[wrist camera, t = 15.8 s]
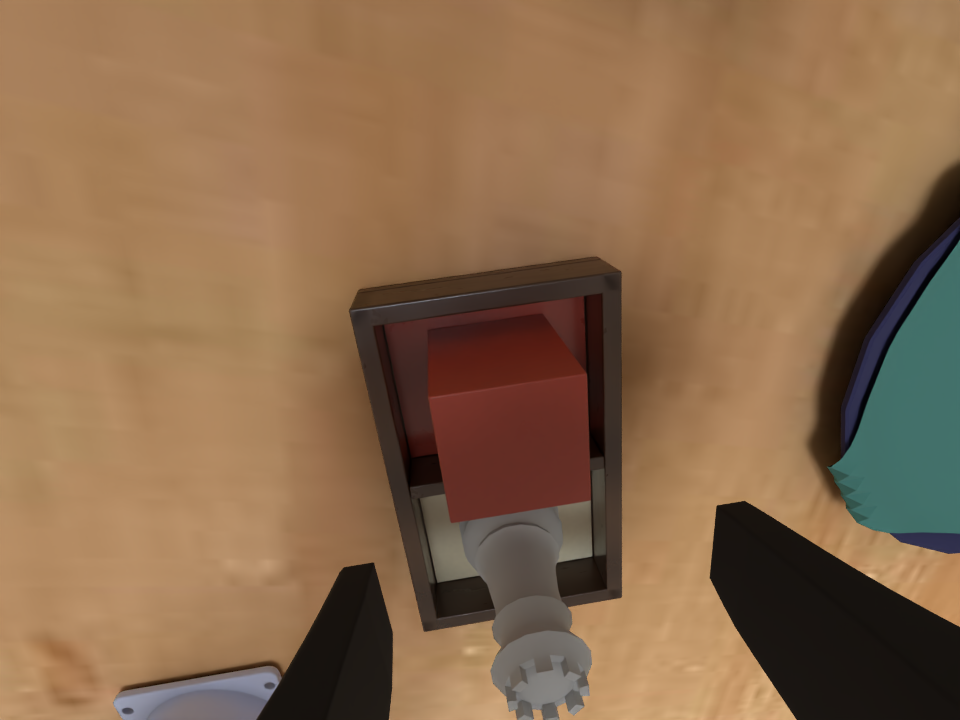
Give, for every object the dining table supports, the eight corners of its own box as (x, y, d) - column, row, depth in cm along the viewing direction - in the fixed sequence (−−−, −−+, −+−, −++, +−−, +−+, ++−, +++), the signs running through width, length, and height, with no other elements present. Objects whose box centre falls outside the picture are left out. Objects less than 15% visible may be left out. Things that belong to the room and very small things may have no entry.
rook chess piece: (562, 474, 21) (633, 642, 14) (551, 553, 23) (609, 739, 16) (460, 476, 21) (478, 650, 14) (456, 556, 23) (471, 750, 15)
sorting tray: (603, 556, 24) (622, 598, 22) (424, 586, 24) (423, 632, 22) (597, 256, 18) (622, 270, 16) (358, 289, 18) (348, 309, 16)
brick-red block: (550, 414, 20) (591, 501, 15) (444, 430, 20) (450, 524, 15) (543, 312, 18) (588, 373, 13) (427, 329, 18) (427, 397, 13)
